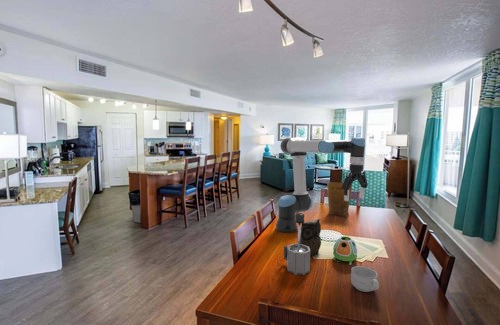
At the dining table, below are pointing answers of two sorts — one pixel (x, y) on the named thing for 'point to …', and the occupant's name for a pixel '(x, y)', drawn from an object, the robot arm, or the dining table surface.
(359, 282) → the teacup
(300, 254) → the press carafe
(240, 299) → the dining table surface
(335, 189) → the pancake mix bag
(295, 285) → the dining table surface
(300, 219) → the plunger
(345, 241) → the turtle holder
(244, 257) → the dining table surface
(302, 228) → the owl
